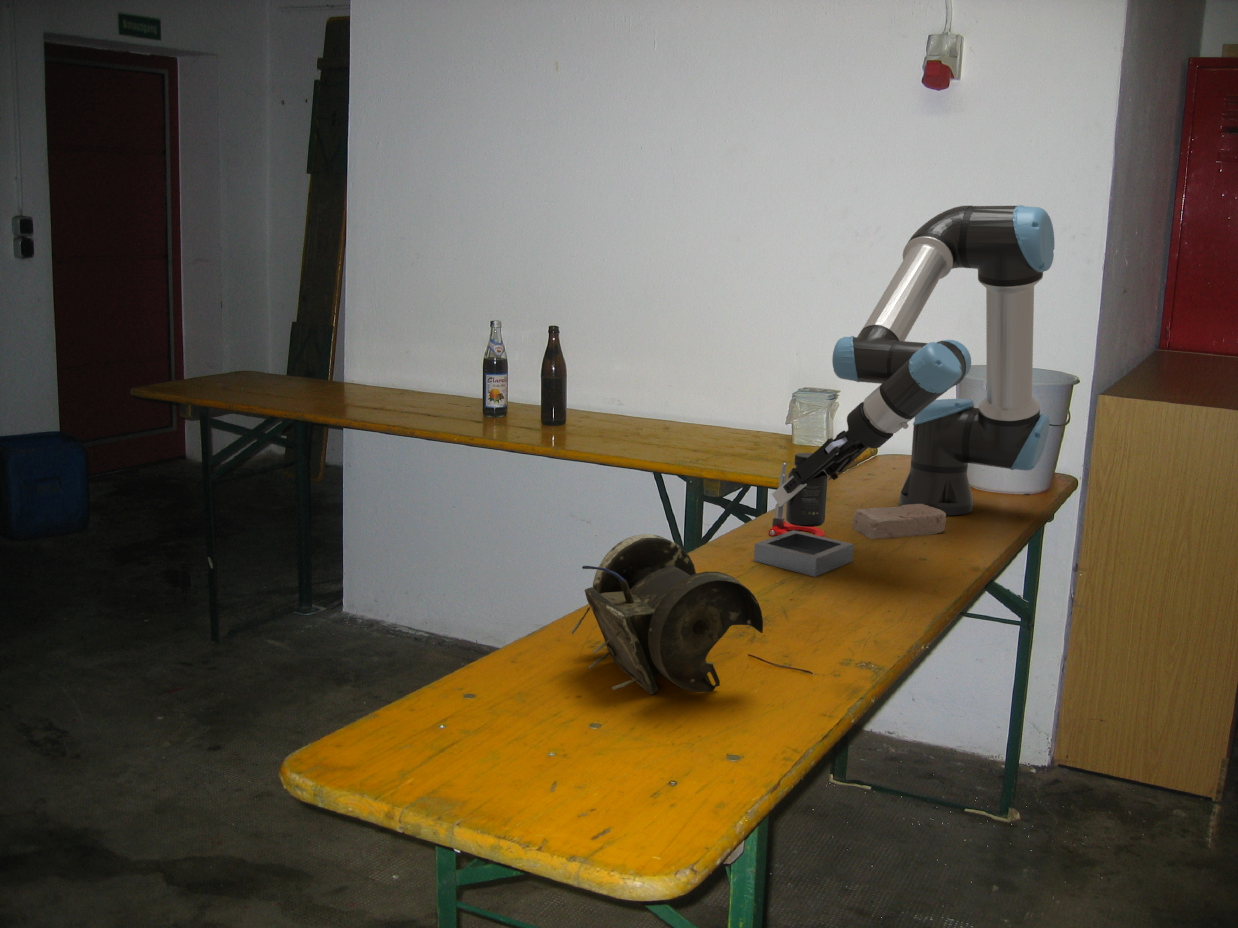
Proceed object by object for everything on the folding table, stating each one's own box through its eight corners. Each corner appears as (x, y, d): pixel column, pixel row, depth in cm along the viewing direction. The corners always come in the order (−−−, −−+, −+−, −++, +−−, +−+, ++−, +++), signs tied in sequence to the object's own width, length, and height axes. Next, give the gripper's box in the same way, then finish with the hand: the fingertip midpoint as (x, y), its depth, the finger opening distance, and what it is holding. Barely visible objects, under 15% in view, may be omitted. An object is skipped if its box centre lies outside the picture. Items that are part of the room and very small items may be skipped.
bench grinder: (706, 610, 156) (651, 492, 149) (789, 659, 136) (730, 526, 129) (589, 687, 150) (526, 569, 144) (658, 751, 130) (589, 616, 124)
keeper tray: (792, 546, 201) (793, 530, 200) (852, 561, 193) (853, 543, 192) (753, 560, 191) (754, 543, 191) (815, 576, 183) (816, 558, 183)
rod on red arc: (829, 535, 211) (779, 525, 215) (837, 466, 208) (787, 457, 211) (817, 547, 203) (766, 537, 207) (825, 475, 199) (773, 466, 203)
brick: (872, 541, 207) (874, 517, 206) (849, 529, 214) (851, 506, 213) (946, 535, 212) (948, 512, 211) (922, 524, 220) (923, 502, 219)
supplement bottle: (831, 521, 191) (835, 454, 188) (813, 529, 185) (818, 460, 183) (796, 515, 195) (800, 449, 192) (778, 522, 189) (782, 455, 187)
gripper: (861, 443, 169) (769, 524, 183) (920, 428, 184) (830, 504, 198) (834, 405, 172) (744, 488, 185) (894, 394, 186) (807, 471, 200)
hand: (789, 496), depth 191 cm, fingers closed on supplement bottle, 7 cm apart
